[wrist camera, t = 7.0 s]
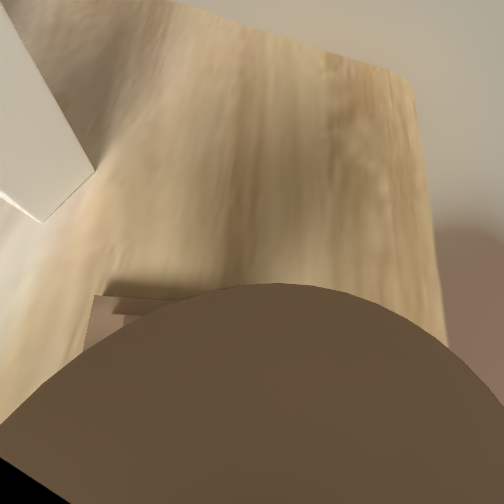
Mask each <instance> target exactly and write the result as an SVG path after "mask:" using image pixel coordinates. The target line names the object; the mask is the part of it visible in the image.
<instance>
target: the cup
mask: <svg viewBox="0 0 504 504" xmlns="http://www.w3.org/2000/svg"><path fill="white" fill-rule="evenodd" d="M0 504H504V407H503V405H502V404H501V403H500V402H499V400H498V399H497V398H496V397H495V395H494V394H493V393H492V392H491V390H490V389H489V388H488V387H487V386H486V385H485V384H484V382H482V380H481V379H480V378H479V377H478V376H477V375H476V374H475V373H474V372H473V371H472V370H471V369H470V368H469V367H468V366H467V365H466V364H465V363H464V362H463V361H462V360H461V359H460V358H459V357H457V356H456V355H455V354H454V353H453V352H451V351H450V350H449V349H448V348H447V347H446V346H445V345H443V344H442V343H441V342H440V341H439V340H437V339H436V338H435V337H433V336H432V335H430V334H429V333H427V332H426V331H424V330H423V329H421V328H420V327H418V326H417V325H415V324H414V323H412V322H411V321H409V320H408V319H406V318H404V317H402V316H400V315H398V314H396V313H394V312H392V311H390V310H388V309H386V308H384V307H382V306H380V305H378V304H376V303H373V302H370V301H368V300H365V299H362V298H359V297H356V296H354V295H351V294H348V293H345V292H340V291H335V290H331V289H326V288H321V287H316V286H310V285H296V284H283V283H273V284H256V285H242V286H237V287H231V288H226V289H221V290H216V291H211V292H206V293H203V294H200V295H197V296H193V297H190V298H187V299H184V300H181V301H178V302H175V303H172V304H169V305H167V306H164V307H162V308H160V309H158V310H156V311H154V312H152V313H150V314H147V315H145V316H143V317H141V318H139V319H137V320H135V321H133V322H130V323H128V324H126V325H125V326H123V327H122V328H120V329H118V330H117V331H115V332H114V333H112V334H110V335H109V336H107V337H106V338H104V339H102V340H101V341H99V342H98V343H96V344H94V345H93V346H91V347H90V348H88V349H86V350H85V351H84V352H82V353H81V354H80V355H79V356H77V357H76V358H75V359H74V360H72V361H71V362H70V363H68V364H67V365H66V366H65V367H63V368H62V369H61V370H60V371H58V372H57V373H56V374H54V375H53V376H52V377H51V378H49V379H48V380H47V381H46V382H44V383H43V384H42V385H41V386H40V387H39V388H38V389H37V390H36V391H35V392H34V393H33V394H32V395H31V396H30V397H29V398H28V399H27V400H25V401H24V402H23V403H22V404H21V405H20V406H19V407H18V408H17V409H16V410H15V411H14V412H13V413H12V414H11V415H10V416H9V417H8V418H7V419H6V420H5V421H4V422H3V423H2V424H1V425H0Z"/></svg>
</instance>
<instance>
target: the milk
mask: <svg viewBox="0 0 504 504" xmlns="http://www.w3.org/2000/svg"><path fill="white" fill-rule="evenodd" d="M94 172H95V170H94V168H93V166H92V164H91V162H90V161H89V159H88V157H87V155H86V153H85V152H84V150H83V148H82V146H81V144H80V143H79V141H78V139H77V137H76V136H75V134H74V132H73V130H72V128H71V127H70V125H69V123H68V121H67V119H66V118H65V116H64V114H63V112H62V110H61V109H60V107H59V105H58V103H57V101H56V100H55V98H54V96H53V94H52V93H51V91H50V89H49V87H48V85H47V84H46V82H45V80H44V78H43V76H42V75H41V73H40V71H39V69H38V67H37V66H36V64H35V62H34V60H33V58H32V57H31V55H30V53H29V51H28V50H27V48H26V46H25V44H24V42H23V41H22V39H21V37H20V35H19V33H18V32H17V30H16V28H15V26H14V24H13V23H12V21H11V19H10V17H9V15H8V14H7V12H6V10H5V8H4V7H3V5H2V3H1V1H0V198H2V199H4V200H5V201H7V202H8V203H10V204H11V205H13V206H14V207H16V208H18V209H19V210H21V211H22V212H24V213H25V214H27V215H28V216H30V217H31V218H33V219H35V220H36V221H38V222H39V223H43V222H44V221H45V220H46V219H47V218H48V217H49V216H50V215H51V214H52V213H53V212H54V211H55V210H56V209H57V208H58V207H59V206H60V205H61V204H62V203H63V202H64V201H65V200H66V199H67V198H68V197H69V196H70V195H71V194H72V193H73V192H74V191H75V190H76V189H77V188H78V187H79V186H80V185H81V184H83V183H84V182H85V181H86V180H87V179H88V178H89V177H90V176H91V175H92V174H93V173H94Z"/></svg>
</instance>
